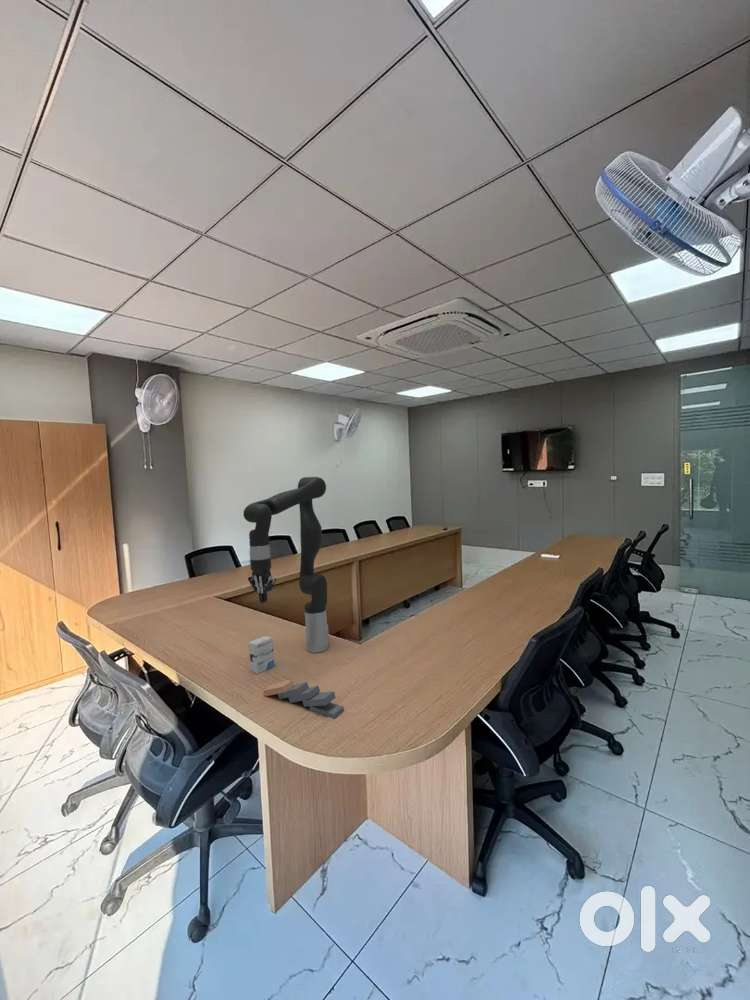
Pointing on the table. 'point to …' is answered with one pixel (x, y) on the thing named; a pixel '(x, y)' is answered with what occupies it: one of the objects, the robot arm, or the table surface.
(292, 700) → the domino
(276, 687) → the domino
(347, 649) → the table surface
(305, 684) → the domino
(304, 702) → the domino
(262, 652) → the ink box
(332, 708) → the domino
